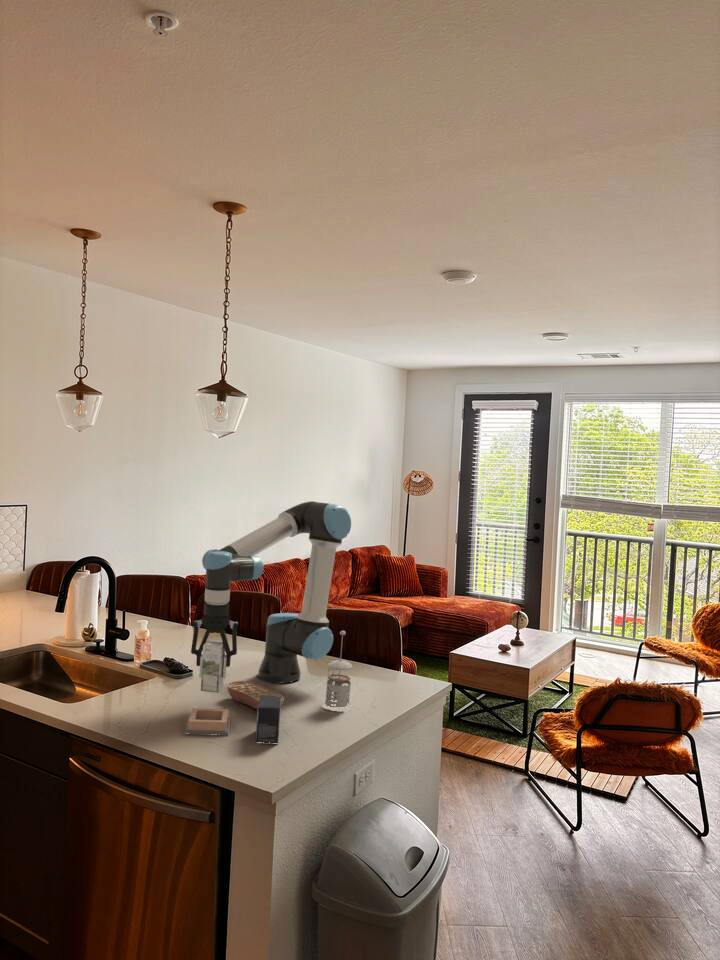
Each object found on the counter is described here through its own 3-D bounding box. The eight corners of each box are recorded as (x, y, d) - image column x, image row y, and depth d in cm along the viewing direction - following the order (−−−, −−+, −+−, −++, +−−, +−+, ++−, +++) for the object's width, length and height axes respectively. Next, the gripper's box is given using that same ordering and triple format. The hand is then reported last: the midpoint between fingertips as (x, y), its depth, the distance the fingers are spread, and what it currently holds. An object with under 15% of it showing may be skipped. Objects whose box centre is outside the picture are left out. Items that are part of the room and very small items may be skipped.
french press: (329, 713, 228) (335, 635, 227) (314, 701, 238) (320, 626, 237) (357, 711, 232) (363, 633, 232) (341, 699, 242) (347, 625, 242)
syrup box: (223, 687, 225) (226, 641, 225) (218, 693, 219) (220, 646, 219) (205, 685, 226) (208, 639, 225) (200, 691, 220) (202, 644, 219)
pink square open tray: (230, 720, 215) (231, 708, 215) (228, 735, 203) (228, 723, 203) (189, 719, 213) (190, 707, 213) (184, 734, 202) (185, 721, 202)
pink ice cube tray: (221, 699, 233) (222, 684, 233) (245, 694, 240) (246, 679, 240) (265, 720, 217) (266, 704, 217) (290, 714, 225) (291, 698, 225)
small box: (256, 729, 209) (259, 693, 209) (279, 730, 210) (282, 695, 210) (254, 744, 199) (257, 706, 199) (278, 745, 199) (281, 707, 199)
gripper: (249, 600, 226) (244, 673, 227) (186, 598, 224) (182, 672, 225) (248, 606, 219) (243, 681, 220) (183, 603, 216) (179, 679, 217)
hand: (212, 676), depth 222 cm, fingers closed on syrup box, 6 cm apart
